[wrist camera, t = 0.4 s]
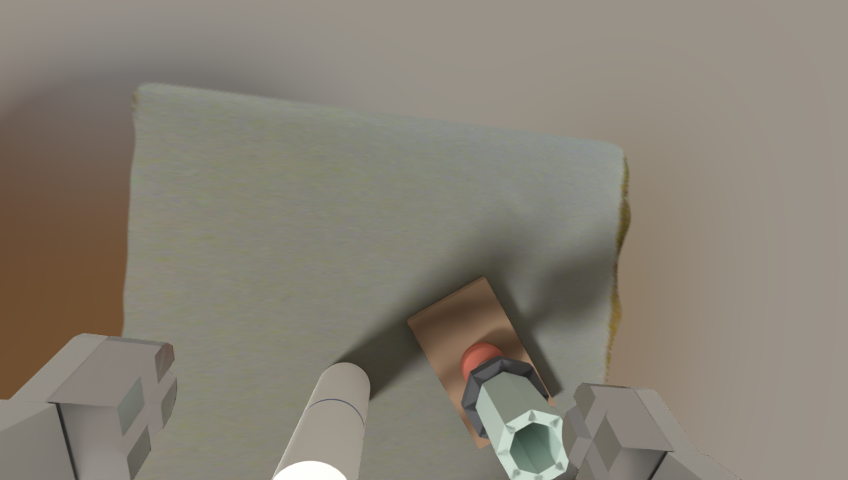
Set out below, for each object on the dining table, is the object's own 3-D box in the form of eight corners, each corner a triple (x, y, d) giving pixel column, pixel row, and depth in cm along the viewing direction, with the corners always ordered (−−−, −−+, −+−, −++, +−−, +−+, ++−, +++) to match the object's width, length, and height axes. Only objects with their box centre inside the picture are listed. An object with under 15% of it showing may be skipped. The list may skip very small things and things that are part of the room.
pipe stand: (550, 399, 62) (604, 459, 46) (476, 442, 62) (505, 518, 46) (482, 276, 61) (514, 294, 45) (406, 319, 60) (411, 353, 44)
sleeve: (545, 412, 47) (584, 460, 38) (495, 442, 47) (521, 497, 37) (518, 362, 47) (550, 398, 37) (467, 392, 46) (485, 435, 37)
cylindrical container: (361, 355, 60) (339, 448, 35) (377, 404, 61) (365, 530, 36) (310, 371, 60) (251, 477, 35) (326, 421, 60) (279, 560, 35)
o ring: (555, 410, 49) (560, 416, 47) (487, 450, 48) (490, 457, 47) (518, 343, 48) (522, 347, 47) (449, 382, 48) (451, 388, 46)
